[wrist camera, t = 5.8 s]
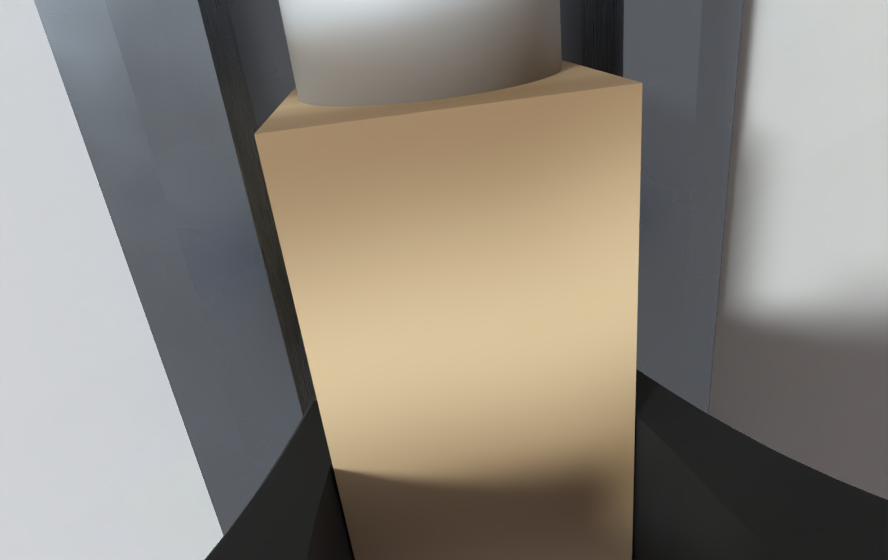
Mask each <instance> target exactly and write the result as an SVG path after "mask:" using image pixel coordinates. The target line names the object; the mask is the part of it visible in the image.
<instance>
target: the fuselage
mask: <svg viewBox="0 0 888 560" xmlns="http://www.w3.org/2000/svg"><path fill="white" fill-rule="evenodd" d="M279 5H280V10H281V15H282V20H283V25H284V30H285V35H286V40H287V45H288V50H289V55H290V60H291V65H292V70H293V74H294V79H295V84H296V87H295V88H294V89H293V91H292V92H291V93H290V94H289V95H288V96H287V97H286V99H285V100H284V101H283V102H282V103H281V104H280V105H279V107H278V108H277V109H276V110H275V111H274V112H273V113H272V114H271V116H270V117H269V118H268V119H267V120H266V121H265V122H264V124H263V125H262V126H261V127H260V128H259V129H258V130H257V132H256V133H255V134H254V136H255V140H256V144H257V148H258V153H259V157H260V161H261V165H262V170H263V174H264V178H265V182H266V186H267V191H268V195H269V199H270V203H271V208H272V212H273V216H274V220H275V224H276V229H277V233H278V237H279V241H280V246H281V250H282V254H283V258H284V262H285V267H286V271H287V275H288V279H289V284H290V288H291V292H292V296H293V300H294V305H295V309H296V313H297V317H298V322H299V326H300V330H301V334H302V338H303V343H304V347H305V351H306V355H307V359H308V364H309V368H310V372H311V376H312V381H313V385H314V389H315V393H316V397H317V402H318V406H319V410H320V414H321V419H322V423H323V427H324V431H325V435H326V440H327V444H328V448H329V452H330V457H331V461H332V465H333V469H334V473H335V478H336V482H337V486H338V490H339V495H340V499H341V503H342V507H343V511H344V516H345V520H346V524H347V528H348V533H349V537H350V541H351V545H352V549H353V554H354V558H355V560H632V536H633V491H634V445H635V400H636V355H637V309H638V264H639V218H640V173H641V127H642V83H641V82H638V81H634V80H631V79H627V78H624V77H620V76H617V75H613V74H609V73H606V72H602V71H599V70H595V69H592V68H588V67H585V66H581V65H577V64H574V63H570V62H567V61H563V60H562V58H561V24H560V0H279Z"/></svg>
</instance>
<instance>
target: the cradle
mask: <svg viewBox="0 0 888 560" xmlns="http://www.w3.org/2000/svg"><path fill="white" fill-rule="evenodd" d="M34 1H35V4H36V7H37V10H38V13H39V16H40V18H41V21H42V24H43V27H44V30H45V32H46V35H47V38H48V41H49V44H50V47H51V49H52V52H53V55H54V58H55V61H56V64H57V66H58V69H59V72H60V75H61V78H62V80H63V83H64V86H65V89H66V92H67V95H68V97H69V100H70V103H71V106H72V109H73V111H74V114H75V117H76V120H77V123H78V126H79V128H80V131H81V134H82V137H83V140H84V143H85V145H86V148H87V151H88V154H89V157H90V159H91V162H92V165H93V168H94V171H95V174H96V176H97V179H98V182H99V185H100V188H101V191H102V193H103V196H104V199H105V202H106V205H107V207H108V210H109V213H110V216H111V219H112V222H113V224H114V227H115V230H116V233H117V236H118V238H119V241H120V244H121V247H122V250H123V253H124V255H125V258H126V261H127V264H128V267H129V270H130V272H131V275H132V278H133V281H134V284H135V286H136V289H137V292H138V295H139V298H140V301H141V303H142V306H143V309H144V312H145V315H146V318H147V320H148V323H149V326H150V329H151V332H152V334H153V337H154V340H155V343H156V346H157V349H158V351H159V354H160V357H161V360H162V363H163V365H164V368H165V371H166V374H167V377H168V380H169V382H170V385H171V388H172V391H173V394H174V397H175V399H176V402H177V405H178V408H179V411H180V413H181V416H182V419H183V422H184V425H185V428H186V430H187V433H188V436H189V439H190V442H191V445H192V447H193V450H194V453H195V456H196V459H197V461H198V464H199V467H200V470H201V473H202V476H203V478H204V481H205V484H206V487H207V490H208V492H209V495H210V498H211V501H212V504H213V507H214V509H215V512H216V515H217V518H218V521H219V524H220V526H221V529H222V532H223V535H225V534H226V532H227V531H228V530H229V528H230V527H231V526H232V524H233V523H234V522H235V520H236V519H237V517H238V516H239V515H240V513H241V512H242V511H243V509H244V508H245V507H246V505H247V504H248V503H249V501H250V500H251V498H252V497H253V496H254V494H255V493H256V491H257V490H258V488H259V487H260V485H261V484H262V482H263V481H264V479H265V478H266V476H267V475H268V473H269V472H270V470H271V469H272V467H273V465H274V464H275V462H276V461H277V459H278V458H279V456H280V455H281V453H282V451H283V450H284V448H285V446H286V445H287V443H288V441H289V440H290V438H291V436H292V435H293V433H294V431H295V430H296V428H297V426H298V424H299V423H300V421H301V419H302V417H303V416H304V414H305V412H306V410H307V409H308V407H309V406H310V405H311V403H312V402H313V401H315V400H317V397H316V393H315V389H314V385H313V381H312V376H311V372H310V368H309V364H308V359H307V355H306V351H305V347H304V343H303V338H302V334H301V330H300V326H299V322H298V317H297V313H296V309H295V305H294V300H293V296H292V292H291V288H290V284H289V279H288V275H287V271H286V267H285V262H284V258H283V254H282V250H281V246H280V241H279V237H278V233H277V229H276V224H275V220H274V216H273V212H272V208H271V203H270V199H269V195H268V191H267V186H266V182H265V178H264V174H263V170H262V165H261V161H260V157H259V153H258V148H257V144H256V140H255V136H254V134H255V133H256V132H257V130H258V129H259V128H260V127H261V126H262V125H263V124H264V122H265V121H266V120H267V119H268V118H269V117H270V116H271V114H272V113H273V112H274V111H275V110H276V109H277V108H278V107H279V105H280V104H281V103H282V102H283V101H284V100H285V99H286V97H287V96H288V95H289V94H290V93H291V92H292V91H293V89H294V88H295V87H296V84H295V79H294V74H293V70H292V65H291V60H290V55H289V50H288V45H287V40H286V35H285V30H284V25H283V20H282V15H281V10H280V5H279V0H34ZM742 10H743V0H560V24H561V58H562V60H563V61H567V62H570V63H574V64H577V65H581V66H585V67H588V68H592V69H595V70H599V71H602V72H606V73H609V74H613V75H617V76H620V77H624V78H627V79H631V80H634V81H638V82H641V83H642V127H641V173H640V218H639V264H638V309H637V355H636V369H637V370H639V371H640V372H642V373H643V374H645V375H647V376H648V377H650V378H651V379H653V380H654V381H656V382H657V383H659V384H660V385H662V386H663V387H665V388H667V389H668V390H670V391H671V392H673V393H674V394H676V395H678V396H679V397H681V398H682V399H684V400H686V401H687V402H689V403H690V404H692V405H694V406H695V407H697V408H699V409H700V410H702V411H704V412H705V413H707V414H708V410H709V398H710V387H711V375H712V363H713V351H714V340H715V328H716V316H717V304H718V292H719V281H720V269H721V257H722V245H723V234H724V222H725V210H726V198H727V186H728V175H729V163H730V151H731V139H732V128H733V116H734V104H735V92H736V80H737V69H738V57H739V45H740V33H741V22H742Z"/></svg>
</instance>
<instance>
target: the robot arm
mask: <svg viewBox="0 0 888 560" xmlns="http://www.w3.org/2000/svg"><path fill="white" fill-rule="evenodd" d="M205 560H355V558H354V554H353V549H352V545H351V541H350V537H349V533H348V528H347V524H346V520H345V516H344V511H343V507H342V503H341V499H340V495H339V490H338V486H337V482H336V478H335V473H334V469H333V465H332V461H331V457H330V452H329V448H328V444H327V440H326V435H325V431H324V427H323V423H322V419H321V414H320V410H319V406H318V402H317V400H315V401H313V402H312V403H311V405H310V406H309V407H308V409H307V410H306V412H305V414H304V416H303V417H302V419H301V421H300V423H299V424H298V426H297V428H296V430H295V431H294V433H293V435H292V436H291V438H290V440H289V441H288V443H287V445H286V446H285V448H284V450H283V451H282V453H281V455H280V456H279V458H278V459H277V461H276V462H275V464H274V465H273V467H272V469H271V470H270V472H269V473H268V475H267V476H266V478H265V479H264V481H263V482H262V484H261V485H260V487H259V488H258V490H257V491H256V493H255V494H254V496H253V497H252V498H251V500H250V501H249V503H248V504H247V505H246V507H245V508H244V509H243V511H242V512H241V513H240V515H239V516H238V517H237V519H236V520H235V522H234V523H233V524H232V526H231V527H230V528H229V530H228V531H227V532H226V534H225V535H224V536H223V538H222V539H221V540H220V541H219V543H218V544H217V545H216V546H215V548H214V549H213V550H212V551H211V553H210V554H209V555H208V556H207V558H206V559H205ZM632 560H888V500H886V499H884V498H881V497H878V496H876V495H873V494H871V493H868V492H865V491H863V490H861V489H858V488H856V487H853V486H851V485H848V484H846V483H844V482H841V481H839V480H837V479H834V478H832V477H830V476H828V475H825V474H823V473H821V472H819V471H817V470H815V469H812V468H810V467H808V466H806V465H804V464H801V463H799V462H797V461H795V460H793V459H790V458H788V457H786V456H784V455H782V454H780V453H778V452H776V451H774V450H772V449H770V448H768V447H766V446H764V445H763V444H761V443H759V442H757V441H755V440H753V439H751V438H750V437H748V436H746V435H744V434H742V433H740V432H739V431H737V430H735V429H733V428H731V427H729V426H728V425H726V424H724V423H722V422H721V421H719V420H717V419H715V418H714V417H712V416H710V415H709V414H707V413H705V412H704V411H702V410H700V409H699V408H697V407H695V406H694V405H692V404H690V403H689V402H687V401H686V400H684V399H682V398H681V397H679V396H678V395H676V394H674V393H673V392H671V391H670V390H668V389H667V388H665V387H663V386H662V385H660V384H659V383H657V382H656V381H654V380H653V379H651V378H650V377H648V376H647V375H645V374H643V373H642V372H640V371H639V370H637V369H636V400H635V445H634V491H633V536H632Z"/></svg>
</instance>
